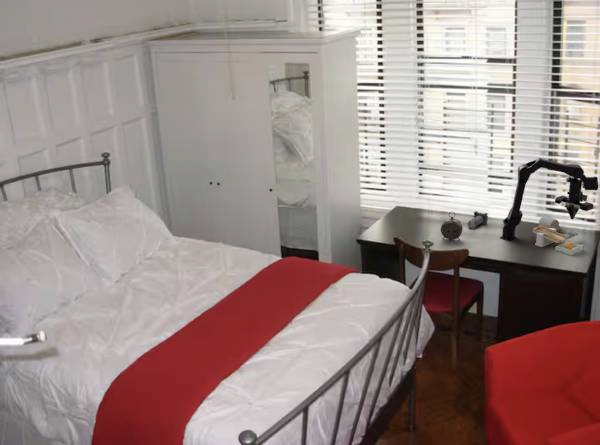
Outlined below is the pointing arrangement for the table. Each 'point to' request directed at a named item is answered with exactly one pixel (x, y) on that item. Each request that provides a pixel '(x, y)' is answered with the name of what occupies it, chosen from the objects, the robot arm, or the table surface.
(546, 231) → the lever
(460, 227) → the alarm clock
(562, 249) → the tray
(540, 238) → the stand
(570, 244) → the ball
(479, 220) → the camera
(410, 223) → the table surface
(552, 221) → the ceramic mug
